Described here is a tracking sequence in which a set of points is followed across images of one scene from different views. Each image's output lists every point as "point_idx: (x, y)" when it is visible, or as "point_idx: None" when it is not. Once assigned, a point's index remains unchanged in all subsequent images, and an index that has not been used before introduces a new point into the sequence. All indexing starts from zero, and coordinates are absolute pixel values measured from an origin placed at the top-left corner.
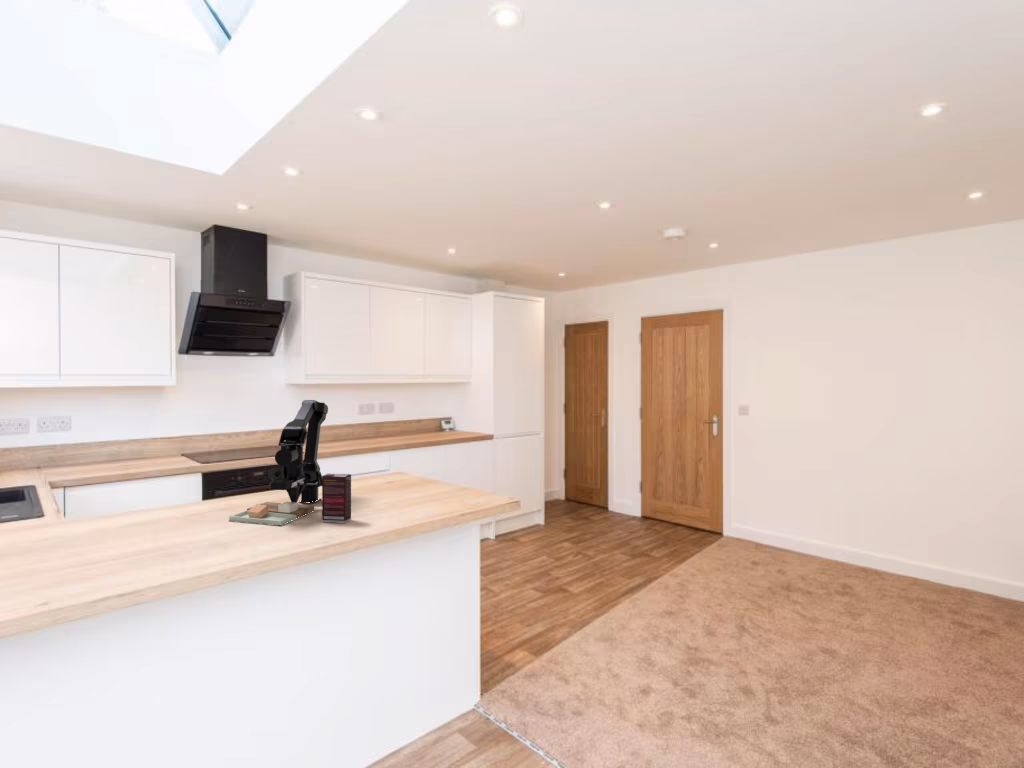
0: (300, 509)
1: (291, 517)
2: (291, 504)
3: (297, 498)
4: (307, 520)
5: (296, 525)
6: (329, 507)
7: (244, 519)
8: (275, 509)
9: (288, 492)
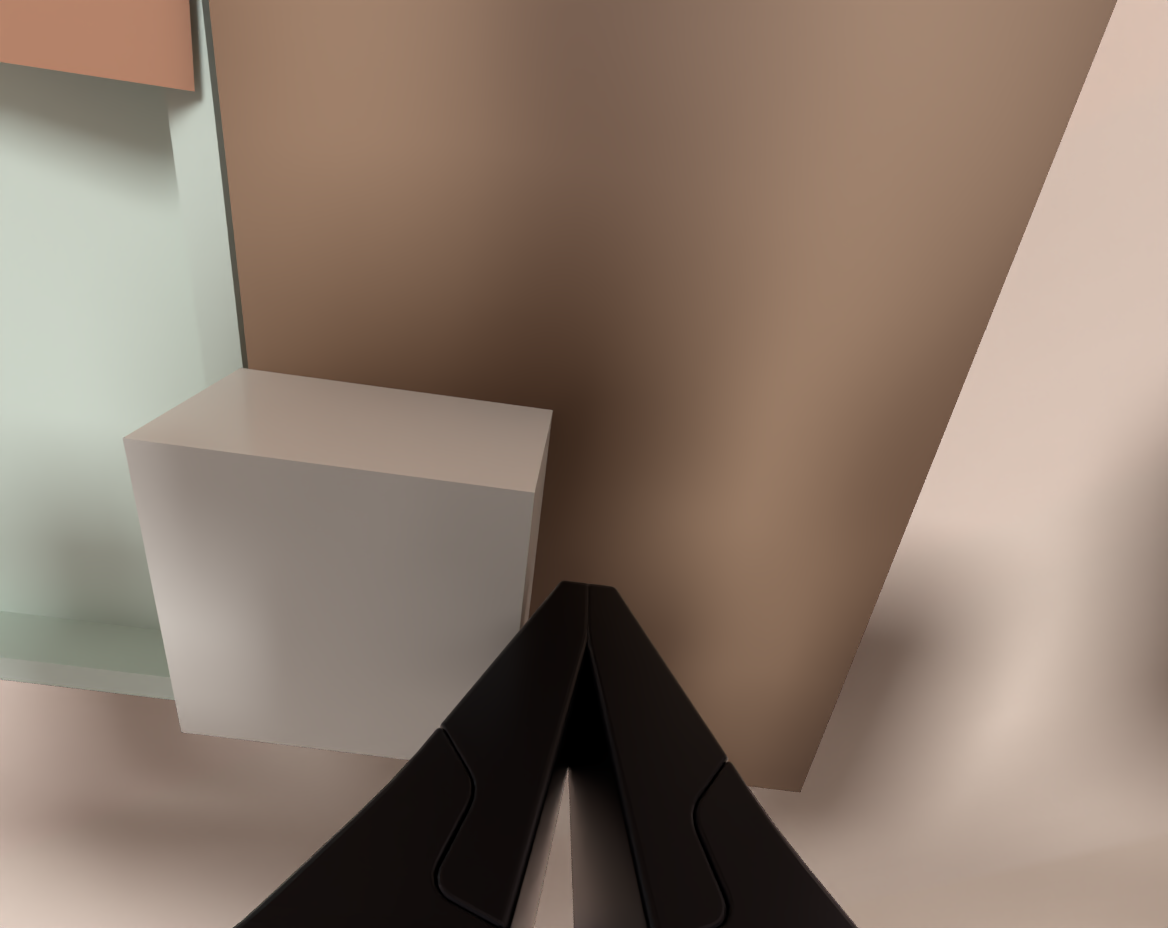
0: None
1: (155, 689)
2: (287, 726)
3: (571, 814)
4: (330, 785)
5: (90, 757)
6: None
7: None
8: (397, 173)
9: (334, 880)
